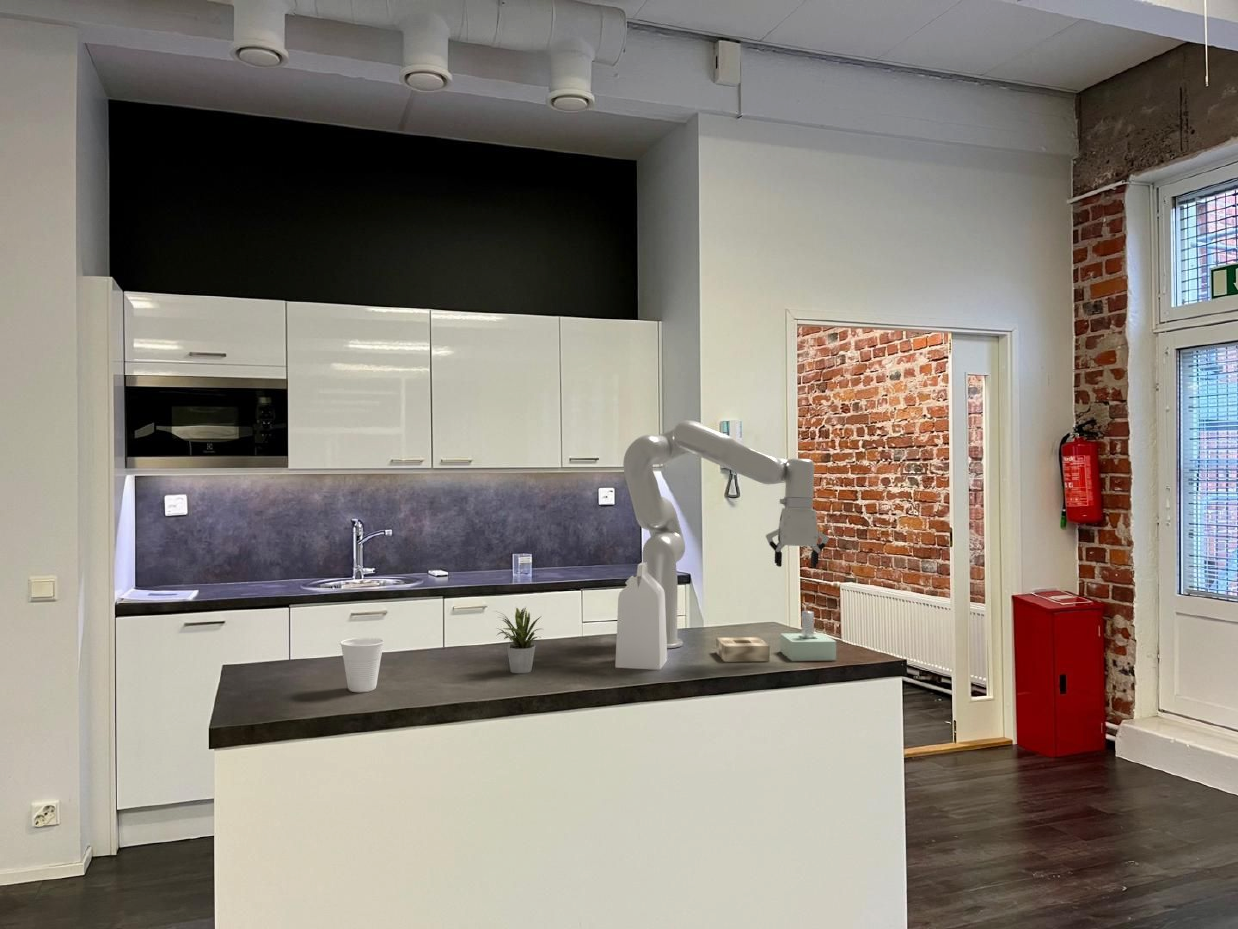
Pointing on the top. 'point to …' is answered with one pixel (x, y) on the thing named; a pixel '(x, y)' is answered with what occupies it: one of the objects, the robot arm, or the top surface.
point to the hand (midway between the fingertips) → (796, 566)
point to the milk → (641, 623)
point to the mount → (742, 649)
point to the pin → (807, 625)
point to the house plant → (520, 643)
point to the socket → (807, 647)
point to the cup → (362, 662)
